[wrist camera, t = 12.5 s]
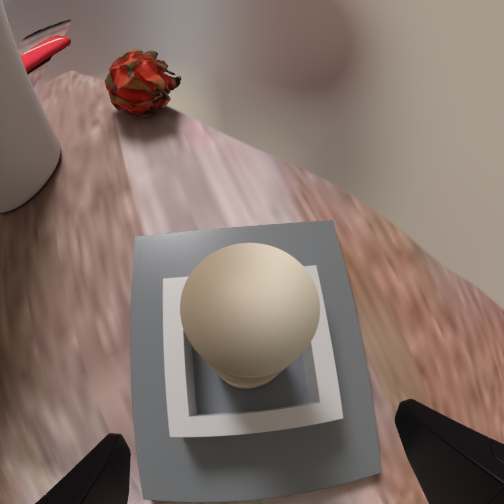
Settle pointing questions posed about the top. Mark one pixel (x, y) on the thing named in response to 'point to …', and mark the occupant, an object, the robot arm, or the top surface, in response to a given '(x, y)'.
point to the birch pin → (249, 312)
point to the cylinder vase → (21, 129)
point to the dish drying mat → (44, 51)
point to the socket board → (247, 401)
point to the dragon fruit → (140, 82)
